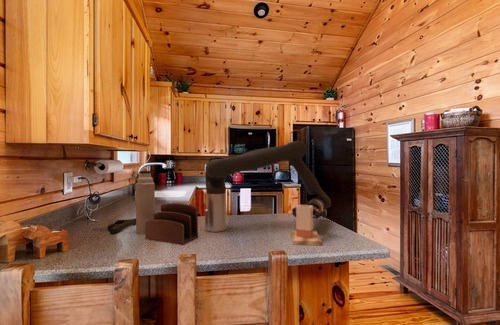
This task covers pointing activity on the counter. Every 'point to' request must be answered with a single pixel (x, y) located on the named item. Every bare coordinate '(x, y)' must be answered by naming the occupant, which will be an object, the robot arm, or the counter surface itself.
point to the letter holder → (173, 224)
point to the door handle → (117, 226)
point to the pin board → (306, 239)
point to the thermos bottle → (144, 200)
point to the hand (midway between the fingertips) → (305, 215)
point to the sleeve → (304, 221)
